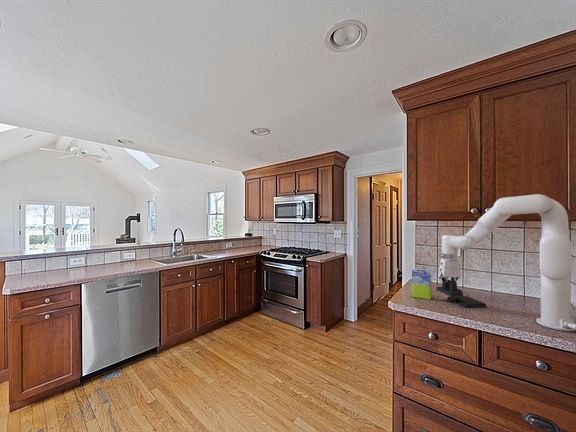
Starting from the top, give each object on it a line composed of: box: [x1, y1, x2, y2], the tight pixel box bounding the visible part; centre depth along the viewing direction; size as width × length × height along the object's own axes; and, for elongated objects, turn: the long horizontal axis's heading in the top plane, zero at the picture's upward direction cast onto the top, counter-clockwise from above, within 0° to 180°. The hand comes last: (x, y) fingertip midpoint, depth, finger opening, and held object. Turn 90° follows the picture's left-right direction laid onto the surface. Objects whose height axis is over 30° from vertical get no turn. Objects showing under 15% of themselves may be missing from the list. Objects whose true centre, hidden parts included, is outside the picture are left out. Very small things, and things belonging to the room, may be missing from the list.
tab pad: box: [436, 279, 464, 296], centre depth 147 cm, size 12×10×7 cm
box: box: [411, 268, 432, 301], centre depth 158 cm, size 10×4×17 cm, turn 54°
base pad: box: [447, 295, 487, 309], centre depth 147 cm, size 14×12×2 cm
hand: (449, 288), depth 146 cm, fingers closed on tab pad, 3 cm apart
